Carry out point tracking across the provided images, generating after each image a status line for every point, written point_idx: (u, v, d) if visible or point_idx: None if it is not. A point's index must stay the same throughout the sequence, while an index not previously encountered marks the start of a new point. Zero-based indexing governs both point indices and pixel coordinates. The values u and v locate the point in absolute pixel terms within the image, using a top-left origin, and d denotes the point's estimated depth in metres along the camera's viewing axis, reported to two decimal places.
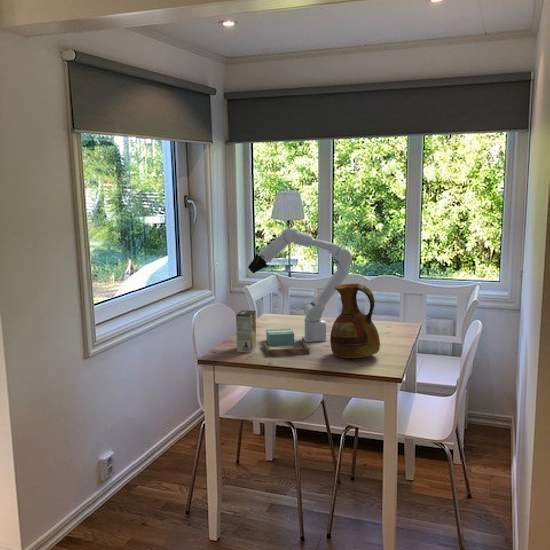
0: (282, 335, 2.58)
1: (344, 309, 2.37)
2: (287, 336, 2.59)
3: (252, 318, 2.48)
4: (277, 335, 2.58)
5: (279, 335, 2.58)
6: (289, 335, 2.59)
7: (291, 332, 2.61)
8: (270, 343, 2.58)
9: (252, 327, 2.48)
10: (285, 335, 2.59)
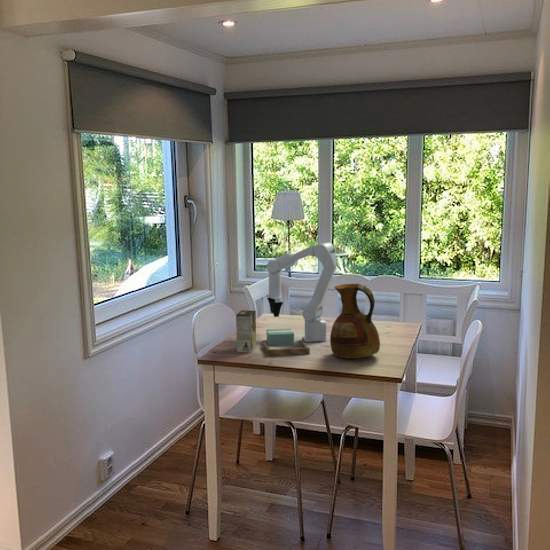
0: (282, 335, 2.58)
1: (344, 309, 2.37)
2: (286, 336, 2.59)
3: (252, 318, 2.48)
4: (277, 335, 2.58)
5: (279, 335, 2.58)
6: (289, 335, 2.59)
7: (291, 332, 2.61)
8: (270, 343, 2.58)
9: (252, 327, 2.48)
10: (285, 335, 2.59)
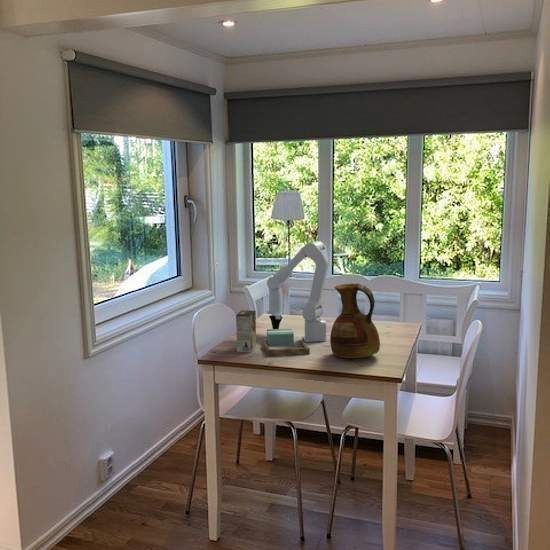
0: (281, 335, 2.58)
1: (344, 309, 2.37)
2: (286, 336, 2.59)
3: (252, 318, 2.48)
4: (276, 335, 2.58)
5: (278, 335, 2.58)
6: (289, 335, 2.59)
7: (291, 332, 2.61)
8: (269, 343, 2.58)
9: (252, 327, 2.48)
10: (284, 335, 2.58)
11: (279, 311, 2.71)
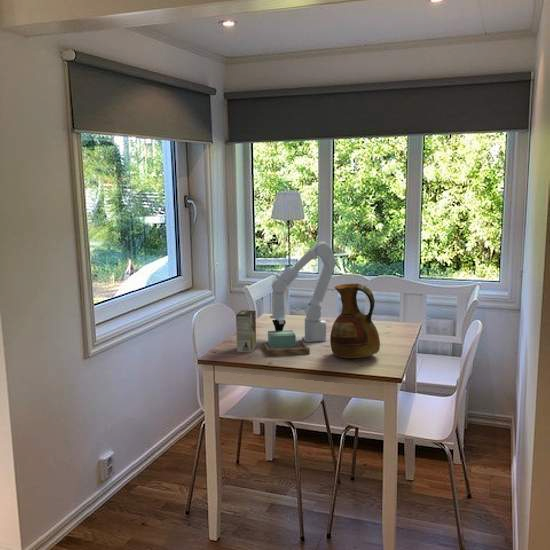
0: (283, 337, 2.55)
1: (344, 309, 2.37)
2: (288, 338, 2.56)
3: (252, 318, 2.48)
4: (278, 337, 2.55)
5: (280, 337, 2.55)
6: (291, 336, 2.56)
7: (292, 334, 2.58)
8: (271, 345, 2.55)
9: (252, 327, 2.48)
10: (286, 337, 2.55)
11: (282, 315, 2.62)
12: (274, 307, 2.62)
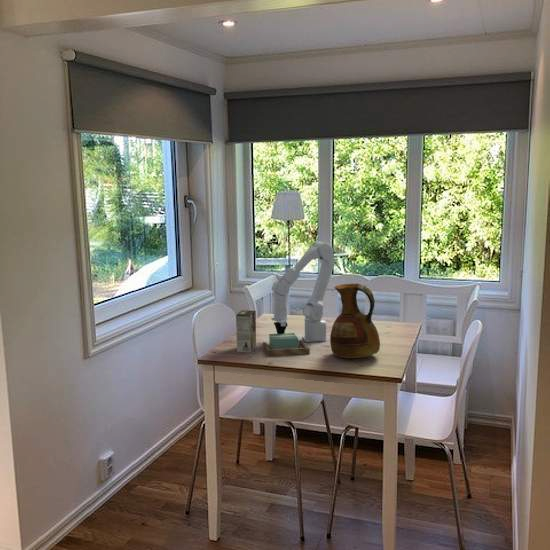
0: (286, 340, 2.51)
1: (344, 309, 2.37)
2: (290, 341, 2.52)
3: (252, 318, 2.48)
4: (280, 340, 2.51)
5: (282, 340, 2.51)
6: (293, 339, 2.52)
7: (295, 337, 2.54)
8: (273, 348, 2.51)
9: (252, 327, 2.48)
10: (289, 340, 2.51)
11: (284, 318, 2.58)
12: (276, 309, 2.58)
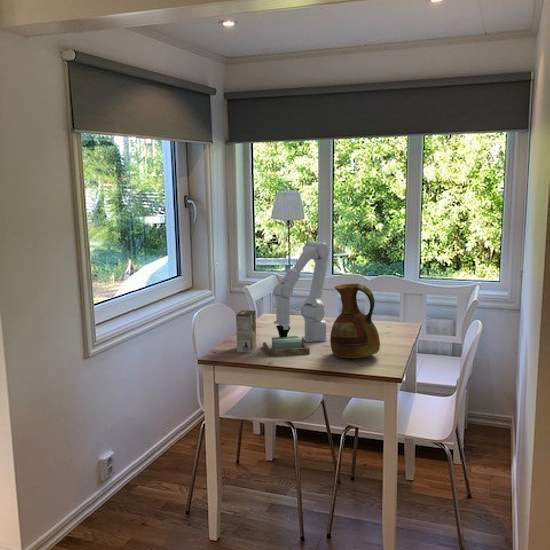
0: (289, 343, 2.45)
1: (344, 309, 2.37)
2: (294, 344, 2.46)
3: (252, 318, 2.48)
4: (283, 343, 2.45)
5: (286, 343, 2.45)
6: (296, 343, 2.46)
7: (298, 340, 2.48)
8: None
9: (252, 327, 2.48)
10: (292, 343, 2.45)
11: (287, 321, 2.52)
12: (278, 312, 2.52)
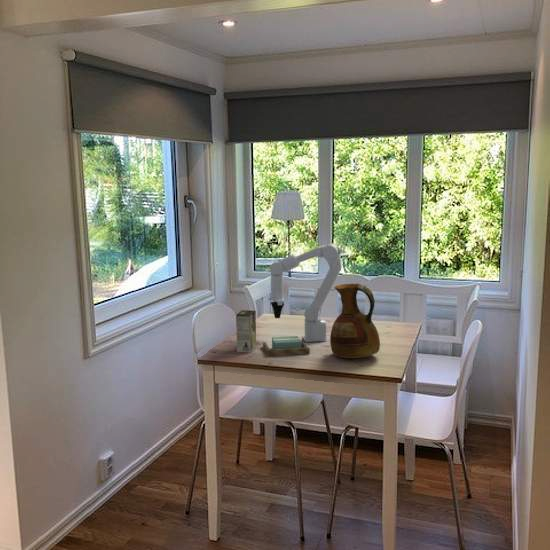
0: (289, 343, 2.45)
1: (344, 309, 2.37)
2: (294, 344, 2.46)
3: (252, 318, 2.48)
4: (283, 343, 2.45)
5: (285, 343, 2.45)
6: (296, 343, 2.46)
7: (298, 340, 2.48)
8: None
9: (252, 327, 2.48)
10: (292, 343, 2.45)
11: (281, 297, 2.65)
12: (272, 289, 2.64)
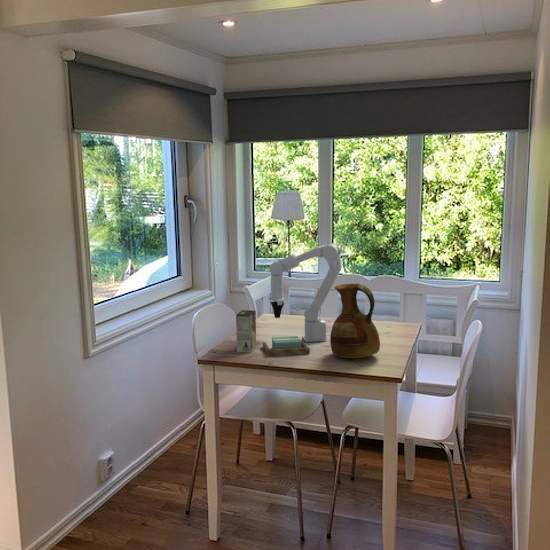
0: (289, 343, 2.45)
1: (344, 309, 2.37)
2: (293, 344, 2.46)
3: (252, 318, 2.48)
4: (283, 343, 2.45)
5: (285, 343, 2.45)
6: (296, 343, 2.46)
7: (298, 340, 2.48)
8: None
9: (252, 327, 2.48)
10: (292, 343, 2.45)
11: (281, 297, 2.65)
12: (272, 289, 2.65)
